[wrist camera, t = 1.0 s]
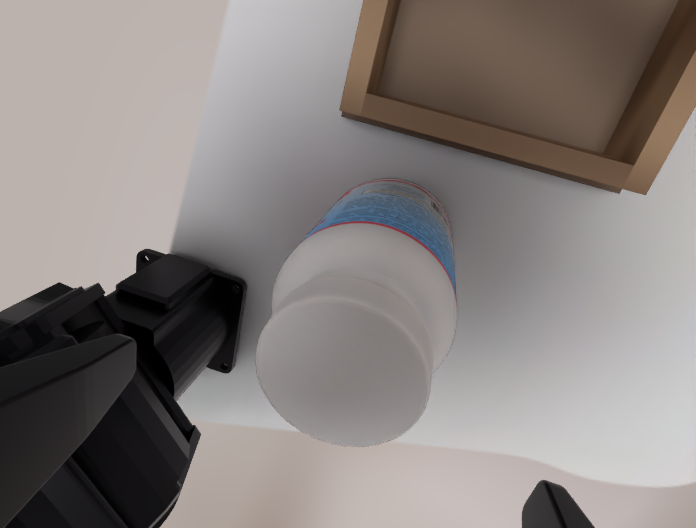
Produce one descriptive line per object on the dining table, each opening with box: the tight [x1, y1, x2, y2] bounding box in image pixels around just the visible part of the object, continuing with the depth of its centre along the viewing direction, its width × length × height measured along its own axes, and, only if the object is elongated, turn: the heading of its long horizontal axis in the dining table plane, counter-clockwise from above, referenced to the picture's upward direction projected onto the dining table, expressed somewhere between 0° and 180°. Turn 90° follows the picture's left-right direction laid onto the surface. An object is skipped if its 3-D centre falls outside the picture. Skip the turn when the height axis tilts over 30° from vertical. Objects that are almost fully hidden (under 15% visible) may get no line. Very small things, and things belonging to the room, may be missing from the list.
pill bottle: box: [255, 179, 457, 447], centre depth 16 cm, size 6×6×11 cm
